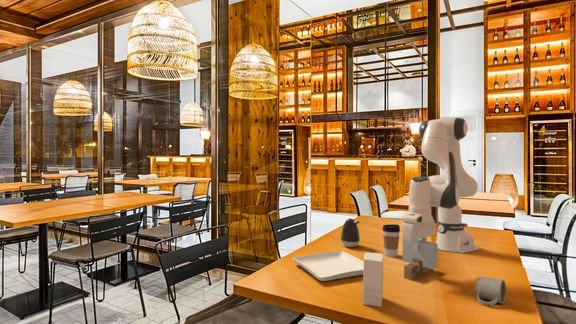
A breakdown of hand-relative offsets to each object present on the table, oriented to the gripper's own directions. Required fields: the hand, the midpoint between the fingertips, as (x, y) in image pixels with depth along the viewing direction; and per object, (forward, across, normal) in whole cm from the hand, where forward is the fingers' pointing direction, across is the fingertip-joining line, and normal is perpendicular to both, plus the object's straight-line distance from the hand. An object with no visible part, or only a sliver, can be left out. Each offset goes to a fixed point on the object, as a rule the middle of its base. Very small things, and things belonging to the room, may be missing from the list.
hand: (419, 248), depth 140 cm
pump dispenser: (+11, -10, -46) cm, 49 cm away
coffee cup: (+11, -14, -23) cm, 29 cm away
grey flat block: (+7, 0, 0) cm, 7 cm away
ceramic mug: (+11, +5, +29) cm, 31 cm away
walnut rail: (+11, 0, 0) cm, 11 cm away
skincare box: (+11, +36, +4) cm, 38 cm away
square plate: (+11, +24, -27) cm, 38 cm away
